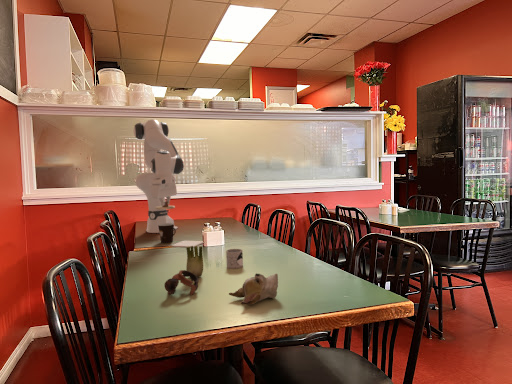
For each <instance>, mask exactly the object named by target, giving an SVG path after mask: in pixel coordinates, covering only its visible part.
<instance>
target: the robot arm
mask: <svg viewBox="0 0 512 384" xmlns="http://www.w3.org/2000/svg"><path fill="white" fill-rule="evenodd" d="M169 133H170V129H169V126H168V123H166V122H163V121H161V122H159V121H158V120H156V119H152V118H151V119H148V120H146V122H138V123H135V124H134V126H133V135H134V136H135V139H137V140H143V157H144V163H145V164H144V165H146V167H148V168H149V169H150V170H151V171H152V172H144V173H139V174H137V176H136V177H135V182H134V183H135V186H136V187H137V189H139V190H140V191H141V192H142V193H144V195H145V196H146V199H147V203H148V204H147V205H148V206H147V207H148V211H147V214H148V215H147V216H148V218H147V223H146V224H147V225H146V229H145V231H146V232H147V233H150V234H151V233H152V234H156V233H157V234H160V233H159V227H158V225H159V224H165V223H173V224H174V228H175V230H177V229H178V227H179V226H176V225H175V220H174V219H173V218H172V217H170V216H169V215H168V213H170V211H171V209H156V207H158V206H164V205H165V202H168V206H170V202H171V199H172V198H171V197H173V196H174V197H175V196H177V184H176V177H175V175H180V174H181V173H182V172H183V171H184V169H185V168H184V167H185V166H184V161H183V159H182V157H181V156H180V155H179V152H178V151H177V148H176V146H175V144H174V142H173V141H172V140H171V139H170V138H168V136H169Z"/></svg>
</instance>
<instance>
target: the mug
mask: <svg viewBox="0 0 512 384" xmlns="http://www.w3.org/2000/svg"><path fill="white" fill-rule="evenodd" d="M225 253H226V254H225V255H226V257H225V258H226V268H227V269H234V270H235V269H241V268H243V267H244V259H243V257H244V256H243V249H241V248H231V249H227V250H226V251H225Z"/></svg>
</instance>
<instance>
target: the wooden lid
mask: <svg viewBox="0 0 512 384" xmlns="http://www.w3.org/2000/svg"><path fill="white" fill-rule="evenodd" d="M175 208H176V206H175V205H168V202H165V205H164V206H158V207H156V209H166V210H172V209H175Z"/></svg>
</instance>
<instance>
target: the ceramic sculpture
mask: <svg viewBox="0 0 512 384" xmlns="http://www.w3.org/2000/svg"><path fill="white" fill-rule="evenodd" d="M278 288H279V276H278V273H274V274H272V275H269V276H267V277H265V276H264V274H261V273H255V275H254V276H253V277H248V278H247V279H245V280H244V281H243V284H242V287H240V288H239V289H237V290H235V292H229V293H228V295H229V296H231V297H235V298H243V300H242V301H241V302H240V305H245V306H252V305H255V304H256V303H258V302H261V301H264V300H265V299H267V298H269V299H272V300H273V299H276V297H277V296H278V295H277V294H278ZM251 304H252V305H251Z"/></svg>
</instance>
